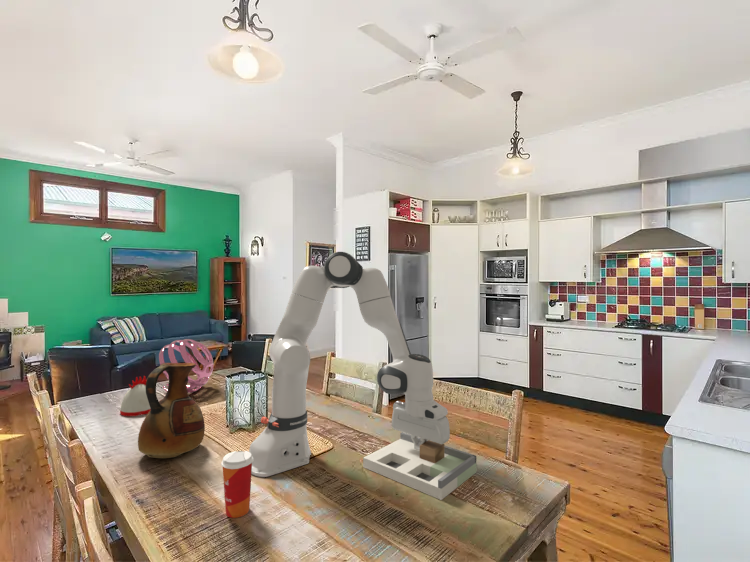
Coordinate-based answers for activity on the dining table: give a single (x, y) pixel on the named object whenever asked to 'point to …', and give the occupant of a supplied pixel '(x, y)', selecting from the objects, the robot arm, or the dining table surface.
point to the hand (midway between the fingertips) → (419, 449)
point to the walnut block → (431, 451)
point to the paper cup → (237, 482)
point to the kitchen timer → (135, 399)
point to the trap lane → (422, 467)
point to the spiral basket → (190, 359)
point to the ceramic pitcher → (171, 415)
